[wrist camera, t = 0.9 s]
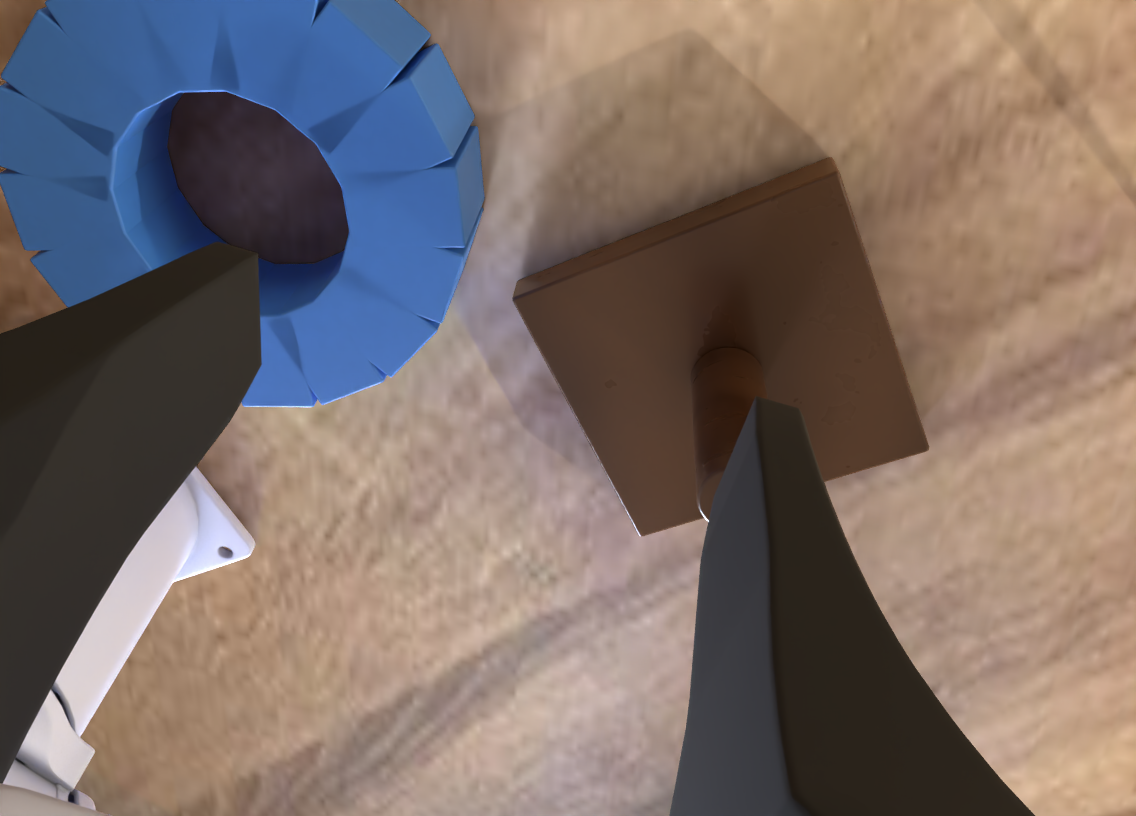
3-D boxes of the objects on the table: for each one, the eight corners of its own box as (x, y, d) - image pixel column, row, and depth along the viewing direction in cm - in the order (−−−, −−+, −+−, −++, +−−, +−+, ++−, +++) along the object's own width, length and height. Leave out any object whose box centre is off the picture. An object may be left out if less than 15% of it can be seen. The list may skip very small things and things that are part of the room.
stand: (640, 514, 32) (635, 674, 26) (516, 280, 27) (479, 410, 22) (921, 427, 29) (984, 585, 23) (831, 154, 25) (882, 266, 19)
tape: (228, 397, 30) (186, 458, 28) (-26, 55, 25) (-108, 89, 22) (553, 268, 27) (541, 323, 24) (338, -154, 22) (294, -144, 19)
